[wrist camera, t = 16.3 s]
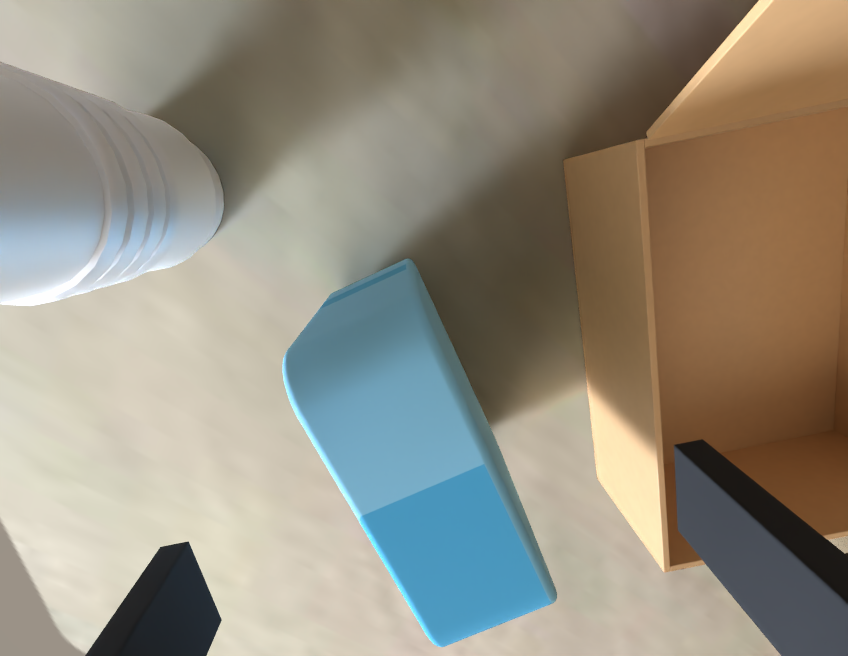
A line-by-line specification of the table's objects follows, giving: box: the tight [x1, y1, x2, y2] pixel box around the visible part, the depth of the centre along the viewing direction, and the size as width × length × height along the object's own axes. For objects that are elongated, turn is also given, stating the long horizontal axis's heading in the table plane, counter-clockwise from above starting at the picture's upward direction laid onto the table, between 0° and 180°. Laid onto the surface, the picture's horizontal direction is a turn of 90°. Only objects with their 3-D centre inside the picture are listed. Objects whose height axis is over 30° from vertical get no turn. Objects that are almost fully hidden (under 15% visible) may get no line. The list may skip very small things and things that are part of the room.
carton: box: [563, 99, 848, 572], centre depth 21 cm, size 19×15×7 cm
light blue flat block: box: [283, 259, 557, 647], centre depth 19 cm, size 12×4×12 cm, turn 25°
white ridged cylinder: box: [0, 62, 224, 306], centre depth 15 cm, size 7×7×15 cm
